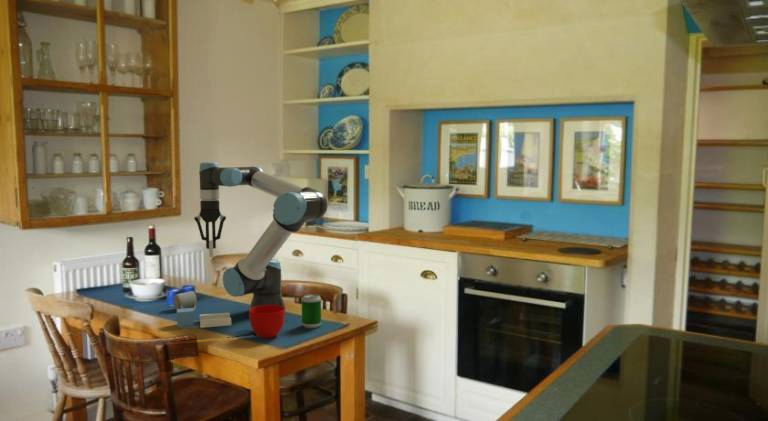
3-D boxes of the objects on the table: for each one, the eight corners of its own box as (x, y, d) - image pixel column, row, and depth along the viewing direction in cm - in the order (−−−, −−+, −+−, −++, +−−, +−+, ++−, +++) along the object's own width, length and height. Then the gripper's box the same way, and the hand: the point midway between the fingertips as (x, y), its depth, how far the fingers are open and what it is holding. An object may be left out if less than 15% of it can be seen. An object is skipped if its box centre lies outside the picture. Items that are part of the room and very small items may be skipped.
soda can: (324, 327, 245) (324, 296, 244) (306, 329, 242) (306, 298, 241) (316, 322, 252) (316, 292, 251) (299, 325, 248) (298, 295, 247)
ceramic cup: (265, 326, 246) (264, 301, 245) (292, 335, 234) (291, 308, 233) (236, 333, 237) (235, 307, 236) (263, 343, 225) (262, 315, 224)
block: (193, 323, 248) (193, 307, 247) (193, 326, 242) (193, 311, 242) (177, 324, 246) (177, 309, 245) (177, 328, 241) (176, 312, 240)
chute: (229, 321, 254) (229, 312, 253) (231, 327, 245) (231, 318, 244) (181, 325, 248) (181, 316, 248) (181, 331, 239) (180, 322, 239)
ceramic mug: (172, 309, 274) (172, 291, 273) (191, 306, 278) (190, 289, 278) (181, 314, 265) (181, 296, 264) (200, 311, 270) (200, 294, 269)
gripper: (225, 198, 267) (226, 254, 269) (193, 199, 263) (194, 255, 265) (226, 200, 259) (227, 257, 262) (193, 200, 256) (195, 258, 258)
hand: (211, 256), depth 263 cm, fingers closed
